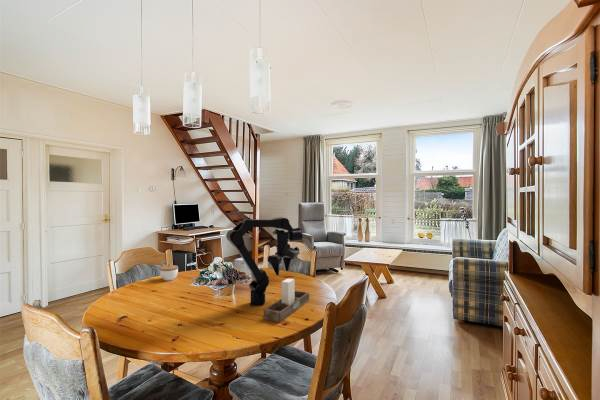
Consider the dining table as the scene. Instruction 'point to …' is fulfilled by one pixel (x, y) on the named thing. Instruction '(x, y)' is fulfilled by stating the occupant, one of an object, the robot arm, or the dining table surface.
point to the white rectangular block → (288, 291)
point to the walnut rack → (285, 307)
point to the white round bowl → (169, 272)
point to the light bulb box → (241, 266)
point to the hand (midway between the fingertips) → (282, 273)
